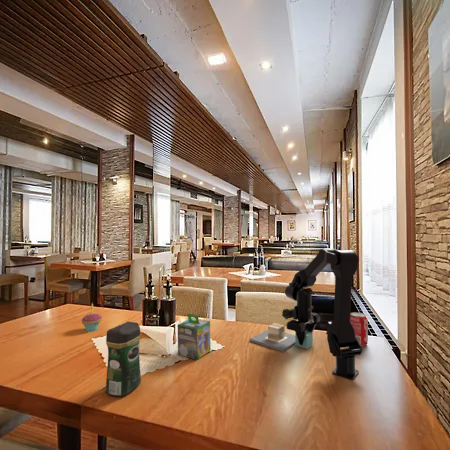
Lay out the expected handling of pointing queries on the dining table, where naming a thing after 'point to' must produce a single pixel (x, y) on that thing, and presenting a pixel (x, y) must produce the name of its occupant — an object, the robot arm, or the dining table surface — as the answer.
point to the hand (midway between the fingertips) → (304, 342)
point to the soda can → (360, 327)
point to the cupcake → (91, 320)
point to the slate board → (274, 341)
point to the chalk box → (194, 337)
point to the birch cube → (276, 331)
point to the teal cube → (305, 340)
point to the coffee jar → (123, 359)
